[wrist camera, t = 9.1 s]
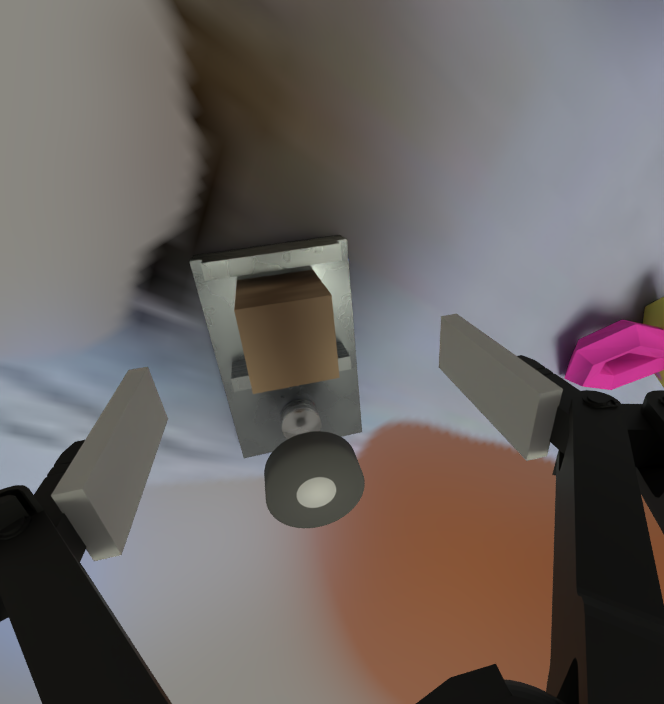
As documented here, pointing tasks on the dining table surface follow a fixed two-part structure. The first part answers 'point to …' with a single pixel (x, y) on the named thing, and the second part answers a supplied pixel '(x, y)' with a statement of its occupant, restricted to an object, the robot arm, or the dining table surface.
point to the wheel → (312, 480)
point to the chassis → (218, 306)
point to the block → (286, 330)
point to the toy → (621, 352)
